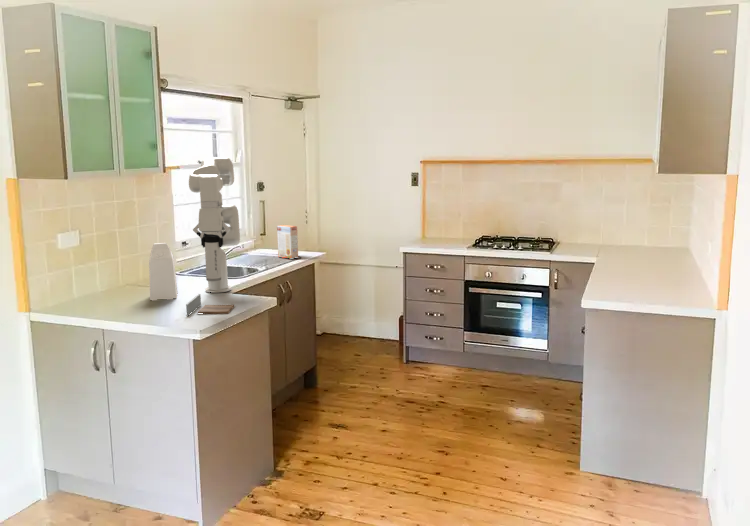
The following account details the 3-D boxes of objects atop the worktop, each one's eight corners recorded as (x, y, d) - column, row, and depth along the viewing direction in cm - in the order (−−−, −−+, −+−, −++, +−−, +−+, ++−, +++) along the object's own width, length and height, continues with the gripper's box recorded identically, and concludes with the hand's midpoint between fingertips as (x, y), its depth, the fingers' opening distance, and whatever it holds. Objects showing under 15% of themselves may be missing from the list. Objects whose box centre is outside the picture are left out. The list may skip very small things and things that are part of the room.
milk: (177, 293, 328) (174, 241, 324) (176, 298, 317) (172, 244, 313) (152, 295, 326) (147, 242, 321) (150, 300, 315) (145, 245, 310)
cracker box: (298, 258, 425) (297, 226, 422) (291, 260, 421) (289, 226, 418) (285, 256, 435) (284, 224, 432) (278, 257, 431) (276, 225, 428)
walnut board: (205, 307, 299) (205, 304, 299) (234, 306, 299) (234, 304, 299) (197, 314, 286) (197, 311, 286) (228, 313, 286) (227, 311, 286)
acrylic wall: (199, 304, 304) (198, 294, 303) (201, 304, 304) (200, 294, 303) (186, 315, 284) (186, 304, 283) (188, 315, 284) (188, 304, 283)
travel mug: (207, 278, 294) (205, 233, 290) (222, 278, 293) (221, 233, 290) (203, 281, 287) (201, 235, 284) (219, 281, 287) (217, 235, 284)
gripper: (232, 204, 288) (234, 245, 292) (192, 204, 289) (194, 246, 292) (228, 205, 281) (230, 247, 284) (187, 206, 281) (190, 248, 284)
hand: (212, 246), depth 288 cm, fingers closed on travel mug, 6 cm apart
